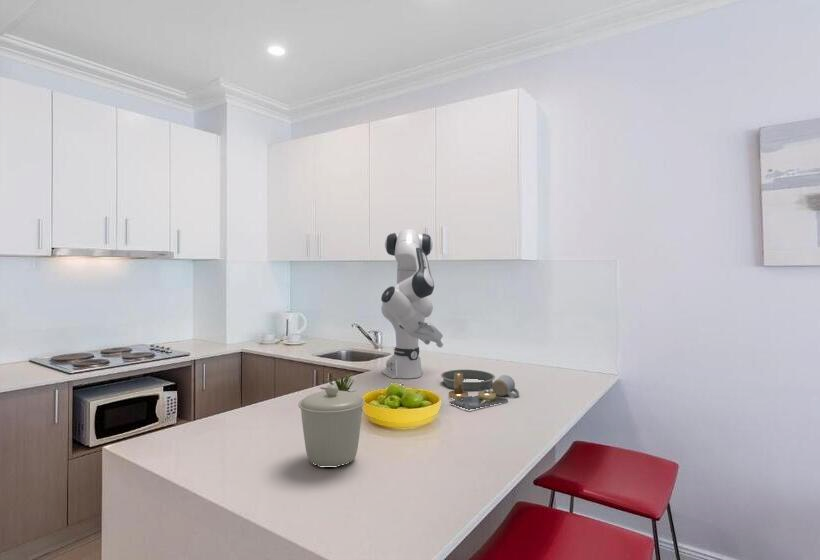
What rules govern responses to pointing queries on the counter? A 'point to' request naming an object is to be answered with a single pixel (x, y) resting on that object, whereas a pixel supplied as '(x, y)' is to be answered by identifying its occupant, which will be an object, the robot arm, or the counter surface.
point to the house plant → (342, 383)
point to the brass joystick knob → (458, 387)
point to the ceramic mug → (505, 386)
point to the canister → (331, 426)
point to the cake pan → (469, 374)
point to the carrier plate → (479, 400)
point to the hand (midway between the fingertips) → (434, 344)
